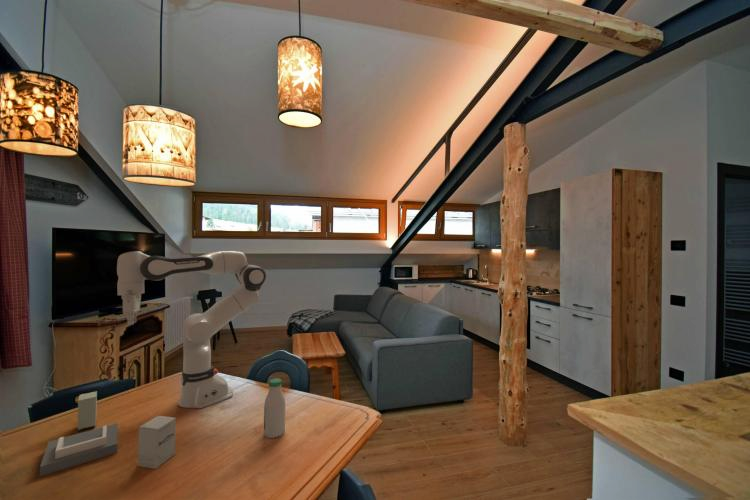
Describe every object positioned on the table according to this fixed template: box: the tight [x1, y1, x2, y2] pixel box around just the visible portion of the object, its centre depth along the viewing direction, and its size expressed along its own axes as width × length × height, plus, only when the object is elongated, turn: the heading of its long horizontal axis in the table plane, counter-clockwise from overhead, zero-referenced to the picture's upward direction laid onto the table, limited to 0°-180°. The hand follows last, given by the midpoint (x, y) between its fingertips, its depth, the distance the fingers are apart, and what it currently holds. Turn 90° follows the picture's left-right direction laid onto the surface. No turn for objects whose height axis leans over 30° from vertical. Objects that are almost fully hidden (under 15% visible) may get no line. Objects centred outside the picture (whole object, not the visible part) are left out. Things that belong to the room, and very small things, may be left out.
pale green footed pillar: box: [77, 390, 98, 432], centre depth 119 cm, size 5×6×12 cm
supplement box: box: [137, 415, 177, 470], centre depth 101 cm, size 7×7×13 cm
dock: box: [39, 423, 118, 477], centre depth 105 cm, size 18×16×6 cm
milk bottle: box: [263, 377, 286, 439], centre depth 117 cm, size 8×8×20 cm
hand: (132, 323), depth 126 cm, fingers open, 8 cm apart
